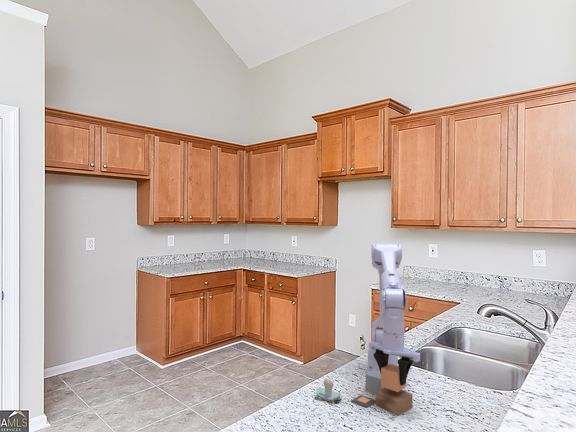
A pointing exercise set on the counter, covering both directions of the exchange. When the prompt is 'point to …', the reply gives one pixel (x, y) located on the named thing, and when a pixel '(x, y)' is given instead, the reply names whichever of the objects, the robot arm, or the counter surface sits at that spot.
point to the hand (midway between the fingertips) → (393, 381)
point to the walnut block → (394, 401)
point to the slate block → (373, 382)
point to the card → (363, 401)
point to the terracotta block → (391, 378)
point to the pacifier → (328, 391)
